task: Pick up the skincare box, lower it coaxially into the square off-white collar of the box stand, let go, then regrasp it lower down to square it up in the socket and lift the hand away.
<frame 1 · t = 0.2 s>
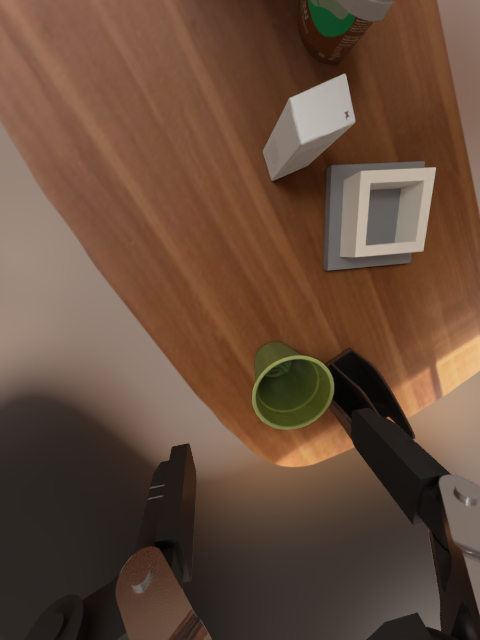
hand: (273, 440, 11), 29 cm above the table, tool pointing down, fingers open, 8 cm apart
letter holder: (348, 393, 47), on the table
skincare box: (284, 159, 33), on the table
box stand: (368, 219, 37), on the table
plant pot: (272, 358, 42), on the table
food container: (311, 24, 29), on the table
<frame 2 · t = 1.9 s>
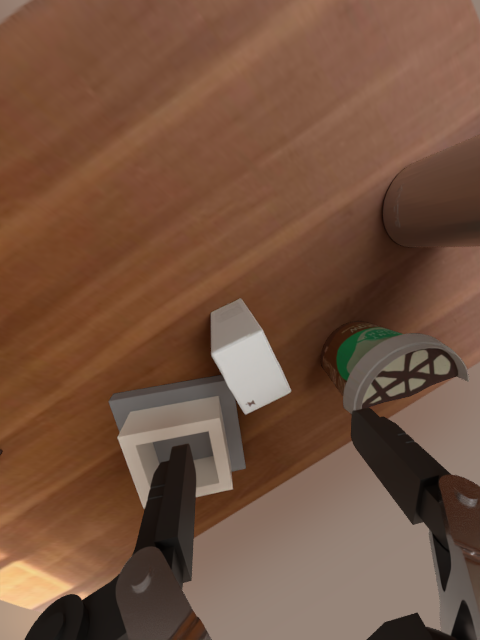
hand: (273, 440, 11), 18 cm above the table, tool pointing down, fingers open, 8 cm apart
skincare box: (235, 324, 28), on the table
box stand: (185, 429, 31), on the table
food container: (349, 335, 31), on the table
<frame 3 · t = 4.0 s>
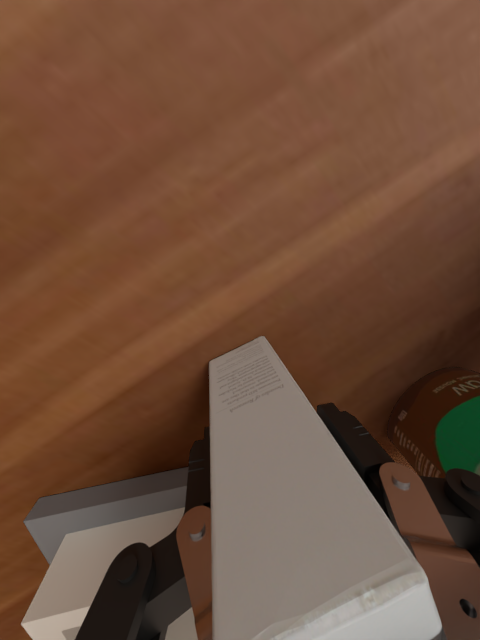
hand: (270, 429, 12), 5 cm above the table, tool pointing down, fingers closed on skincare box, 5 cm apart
skincare box: (252, 378, 16), on the table, touching gripper
box stand: (166, 540, 19), on the table
food container: (434, 388, 19), on the table
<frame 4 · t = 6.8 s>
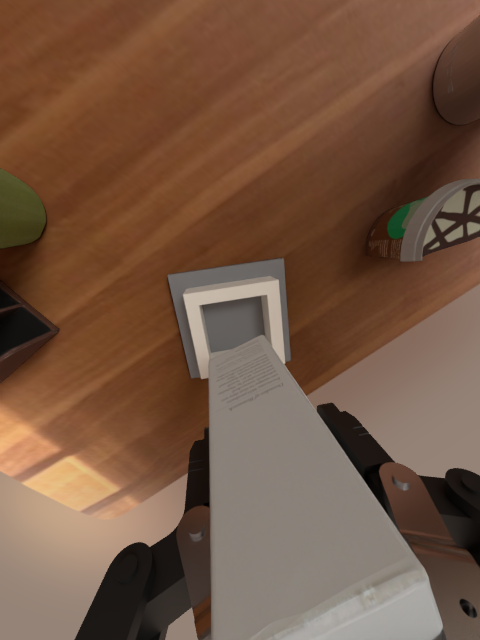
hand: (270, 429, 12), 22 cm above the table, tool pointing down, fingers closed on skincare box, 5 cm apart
skincare box: (252, 377, 16), point 17 cm above the table, touching gripper
box stand: (233, 318, 33), on the table
plant pot: (13, 210, 26), on the table
food container: (393, 222, 31), on the table
when the fingers open (8 cm above the table, at t = 9.9 s): skincare box drops 2 cm, resting on box stand.
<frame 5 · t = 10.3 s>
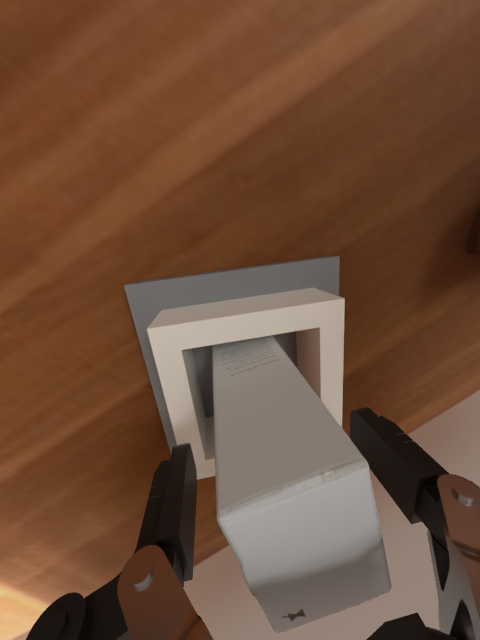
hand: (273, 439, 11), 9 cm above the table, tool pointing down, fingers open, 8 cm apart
skincare box: (248, 362, 18), point 1 cm above the table, touching box stand
box stand: (245, 358, 19), on the table
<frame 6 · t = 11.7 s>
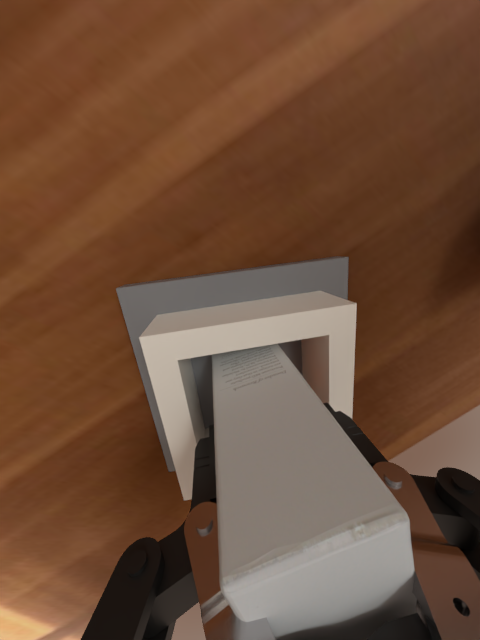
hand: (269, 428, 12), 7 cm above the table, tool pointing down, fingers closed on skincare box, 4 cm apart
skincare box: (250, 370, 17), point 1 cm above the table, touching box stand, gripper
box stand: (246, 364, 18), on the table
when the fingers open (7 cm above the table, at t = 13.0 s): skincare box stays where it is, resting on box stand.
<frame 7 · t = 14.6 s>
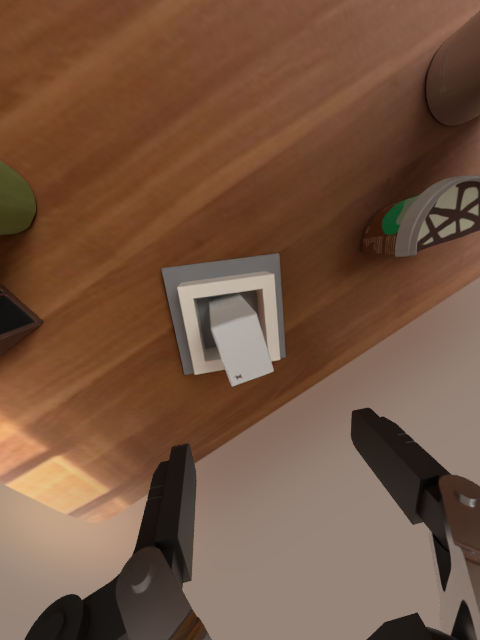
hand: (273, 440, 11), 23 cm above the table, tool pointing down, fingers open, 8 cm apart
skincare box: (229, 315, 31), point 1 cm above the table, touching box stand
box stand: (228, 314, 32), on the table
plant pot: (2, 198, 25), on the table
food container: (387, 220, 32), on the table
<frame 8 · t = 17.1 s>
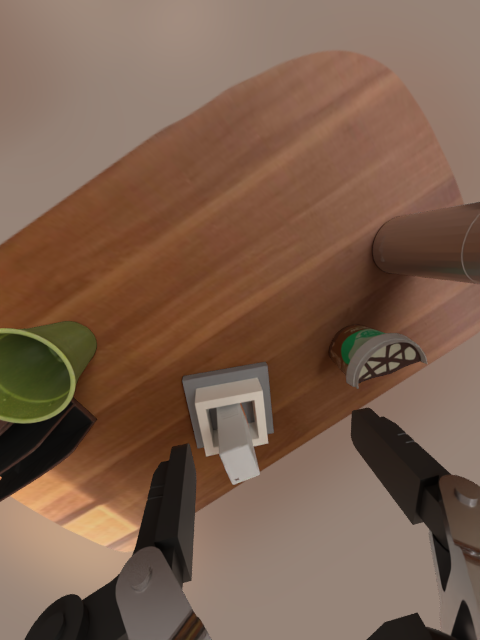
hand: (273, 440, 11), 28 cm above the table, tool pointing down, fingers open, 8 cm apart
letter holder: (32, 427, 40), on the table
skincare box: (231, 406, 42), point 1 cm above the table, touching box stand
box stand: (230, 403, 43), on the table
plant pot: (73, 340, 36), on the table
food container: (349, 334, 42), on the table
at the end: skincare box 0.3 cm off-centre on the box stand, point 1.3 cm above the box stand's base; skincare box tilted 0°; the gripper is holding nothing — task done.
